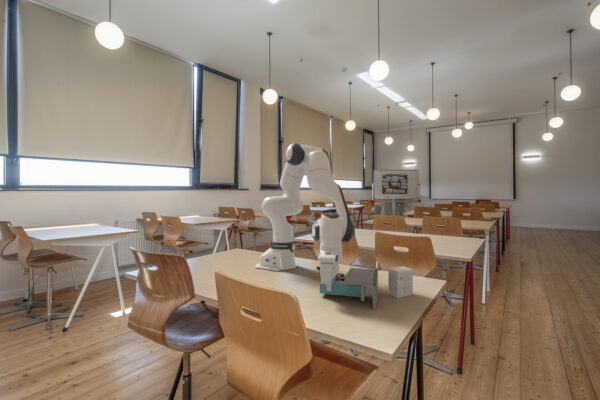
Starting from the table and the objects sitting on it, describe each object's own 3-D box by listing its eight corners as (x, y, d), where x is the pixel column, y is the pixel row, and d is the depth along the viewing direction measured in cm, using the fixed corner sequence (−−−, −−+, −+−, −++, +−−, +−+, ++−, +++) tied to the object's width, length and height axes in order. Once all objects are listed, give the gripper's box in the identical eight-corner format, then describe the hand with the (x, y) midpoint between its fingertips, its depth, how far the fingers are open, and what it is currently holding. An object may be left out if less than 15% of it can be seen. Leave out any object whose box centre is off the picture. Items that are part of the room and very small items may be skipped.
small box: (403, 291, 124) (403, 266, 123) (413, 295, 119) (413, 269, 118) (387, 293, 121) (387, 268, 120) (397, 298, 115) (397, 271, 115)
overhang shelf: (344, 305, 108) (344, 279, 108) (350, 289, 125) (350, 267, 125) (375, 309, 105) (376, 282, 105) (377, 292, 122) (377, 269, 122)
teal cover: (319, 293, 117) (319, 283, 117) (322, 289, 122) (322, 279, 122) (360, 296, 113) (360, 286, 112) (362, 292, 117) (361, 282, 117)
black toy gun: (310, 267, 158) (326, 265, 162) (310, 270, 158) (326, 268, 162) (336, 281, 133) (354, 279, 137) (336, 285, 133) (354, 282, 137)
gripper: (328, 248, 129) (328, 279, 129) (317, 258, 109) (317, 295, 110) (342, 249, 127) (342, 281, 127) (334, 259, 107) (334, 297, 108)
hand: (330, 288), depth 118 cm, fingers closed on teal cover, 5 cm apart
